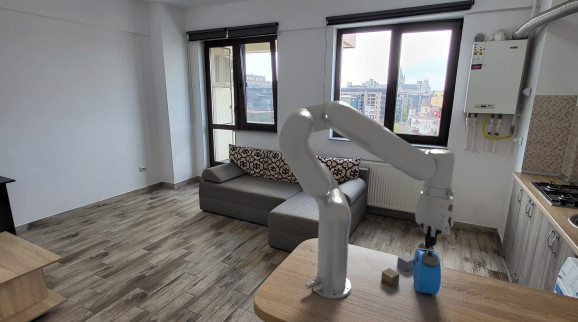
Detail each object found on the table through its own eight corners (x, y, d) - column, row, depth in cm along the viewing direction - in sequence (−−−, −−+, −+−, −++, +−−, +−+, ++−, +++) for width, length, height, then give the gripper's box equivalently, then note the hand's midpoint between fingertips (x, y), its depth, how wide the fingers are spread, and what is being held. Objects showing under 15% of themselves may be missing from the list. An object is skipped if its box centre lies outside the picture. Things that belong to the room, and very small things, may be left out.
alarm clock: (438, 304, 89) (444, 260, 85) (416, 300, 90) (421, 257, 87) (430, 278, 101) (435, 239, 98) (410, 275, 103) (415, 236, 99)
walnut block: (390, 288, 96) (391, 277, 95) (381, 281, 100) (381, 271, 99) (398, 284, 98) (399, 273, 97) (388, 277, 102) (389, 267, 101)
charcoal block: (406, 272, 105) (407, 262, 104) (396, 266, 108) (397, 256, 107) (413, 268, 107) (414, 258, 106) (403, 263, 110) (404, 253, 109)
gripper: (468, 195, 83) (460, 252, 88) (421, 182, 96) (416, 232, 100) (454, 200, 80) (446, 260, 84) (406, 186, 92) (402, 238, 96)
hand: (429, 245), depth 92 cm, fingers closed
